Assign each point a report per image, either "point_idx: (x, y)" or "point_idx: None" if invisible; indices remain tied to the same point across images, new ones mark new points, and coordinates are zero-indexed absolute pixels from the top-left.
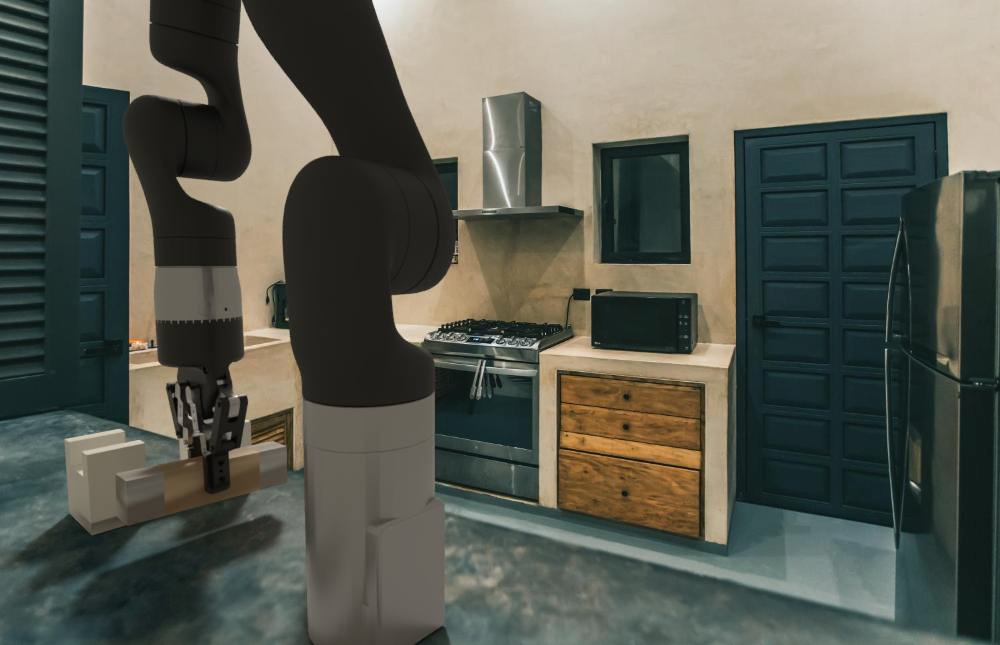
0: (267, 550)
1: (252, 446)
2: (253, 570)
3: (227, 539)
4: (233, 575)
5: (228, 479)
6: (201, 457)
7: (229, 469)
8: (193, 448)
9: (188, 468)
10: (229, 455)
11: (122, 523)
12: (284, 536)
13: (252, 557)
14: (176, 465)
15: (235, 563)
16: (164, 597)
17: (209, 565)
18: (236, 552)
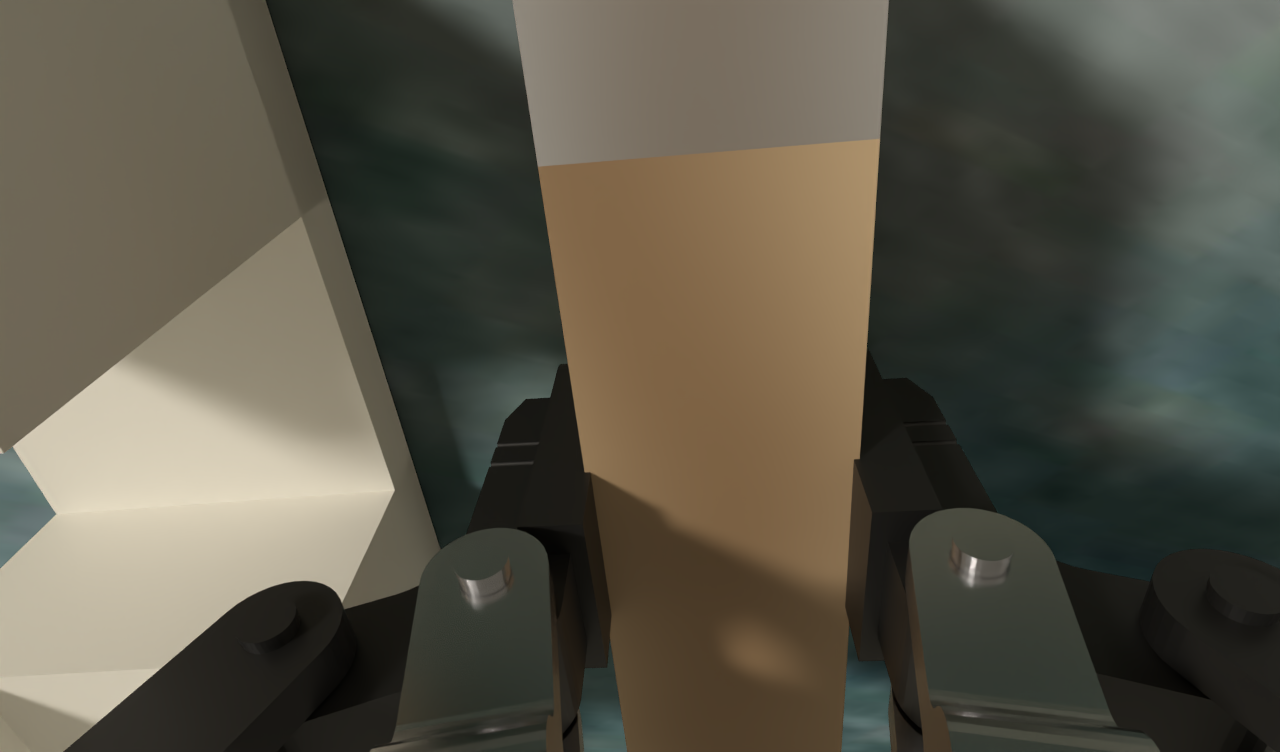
0: (1171, 187)
1: (582, 103)
2: (1264, 302)
3: (892, 283)
4: (1215, 369)
5: (932, 405)
6: (651, 565)
7: (895, 411)
8: (585, 651)
9: (841, 673)
10: (759, 402)
11: (431, 543)
12: (1124, 50)
13: (1161, 264)
14: (726, 706)
15: (1136, 333)
16: (1117, 552)
17: (1052, 406)
18: (1050, 297)
